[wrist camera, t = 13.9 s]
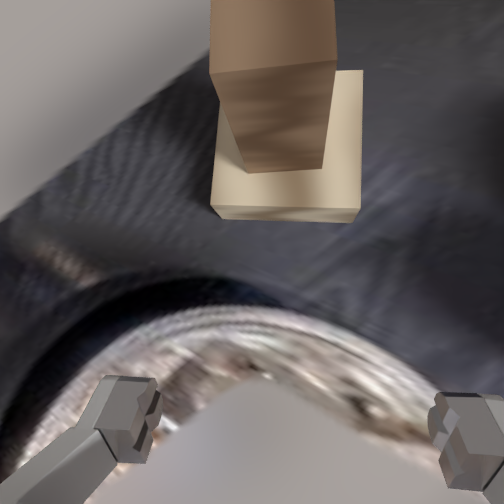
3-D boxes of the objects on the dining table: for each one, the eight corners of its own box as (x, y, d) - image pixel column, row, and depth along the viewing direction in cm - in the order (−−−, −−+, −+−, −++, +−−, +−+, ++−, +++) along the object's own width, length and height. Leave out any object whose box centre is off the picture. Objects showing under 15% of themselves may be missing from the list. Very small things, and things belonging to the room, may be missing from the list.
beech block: (223, 220, 27) (210, 204, 23) (233, 107, 29) (222, 75, 25) (351, 224, 26) (360, 208, 22) (354, 104, 27) (362, 70, 23)
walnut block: (248, 173, 23) (209, 73, 13) (247, 108, 24) (211, -31, 14) (322, 169, 22) (337, 59, 13) (318, 101, 23) (331, -49, 14)
